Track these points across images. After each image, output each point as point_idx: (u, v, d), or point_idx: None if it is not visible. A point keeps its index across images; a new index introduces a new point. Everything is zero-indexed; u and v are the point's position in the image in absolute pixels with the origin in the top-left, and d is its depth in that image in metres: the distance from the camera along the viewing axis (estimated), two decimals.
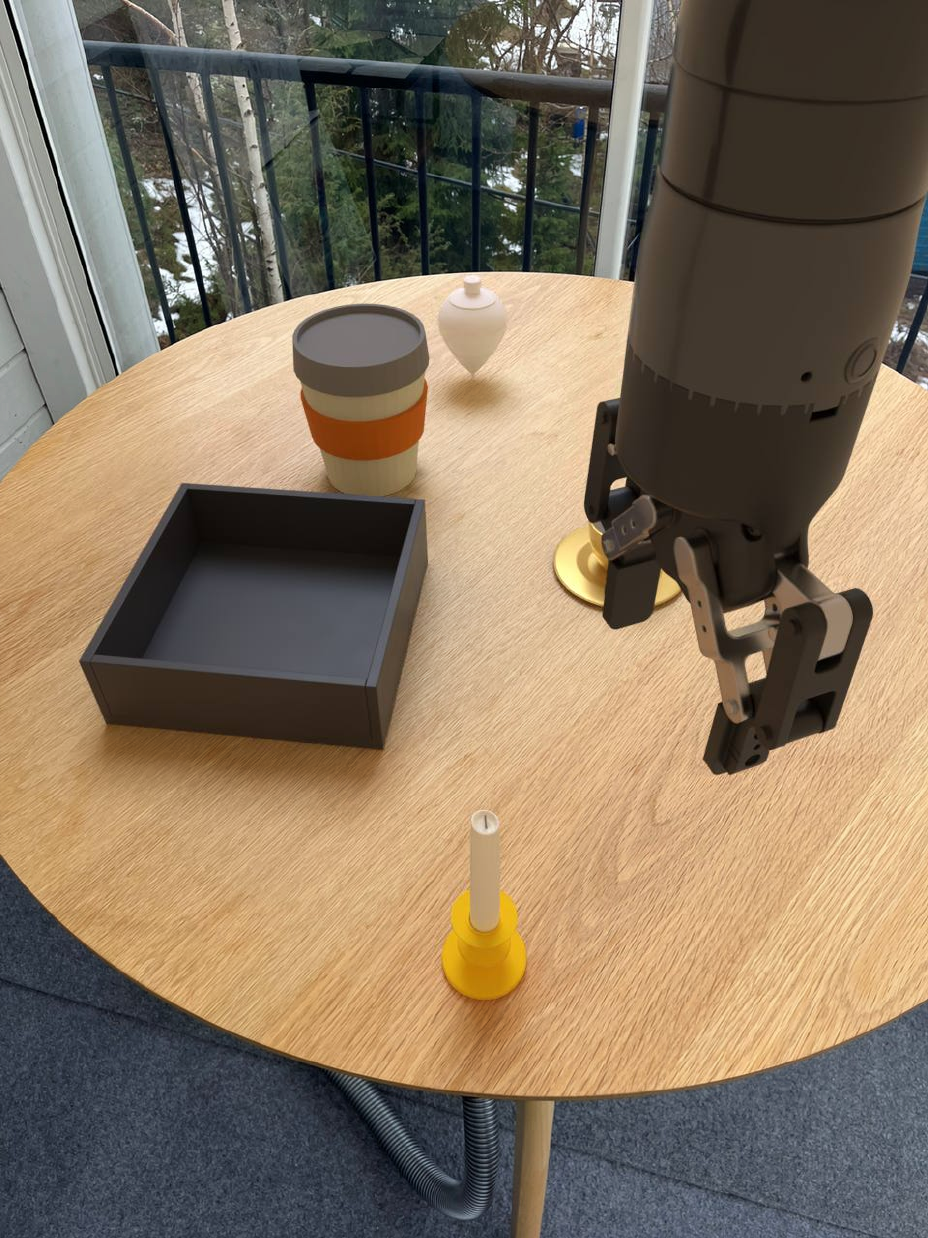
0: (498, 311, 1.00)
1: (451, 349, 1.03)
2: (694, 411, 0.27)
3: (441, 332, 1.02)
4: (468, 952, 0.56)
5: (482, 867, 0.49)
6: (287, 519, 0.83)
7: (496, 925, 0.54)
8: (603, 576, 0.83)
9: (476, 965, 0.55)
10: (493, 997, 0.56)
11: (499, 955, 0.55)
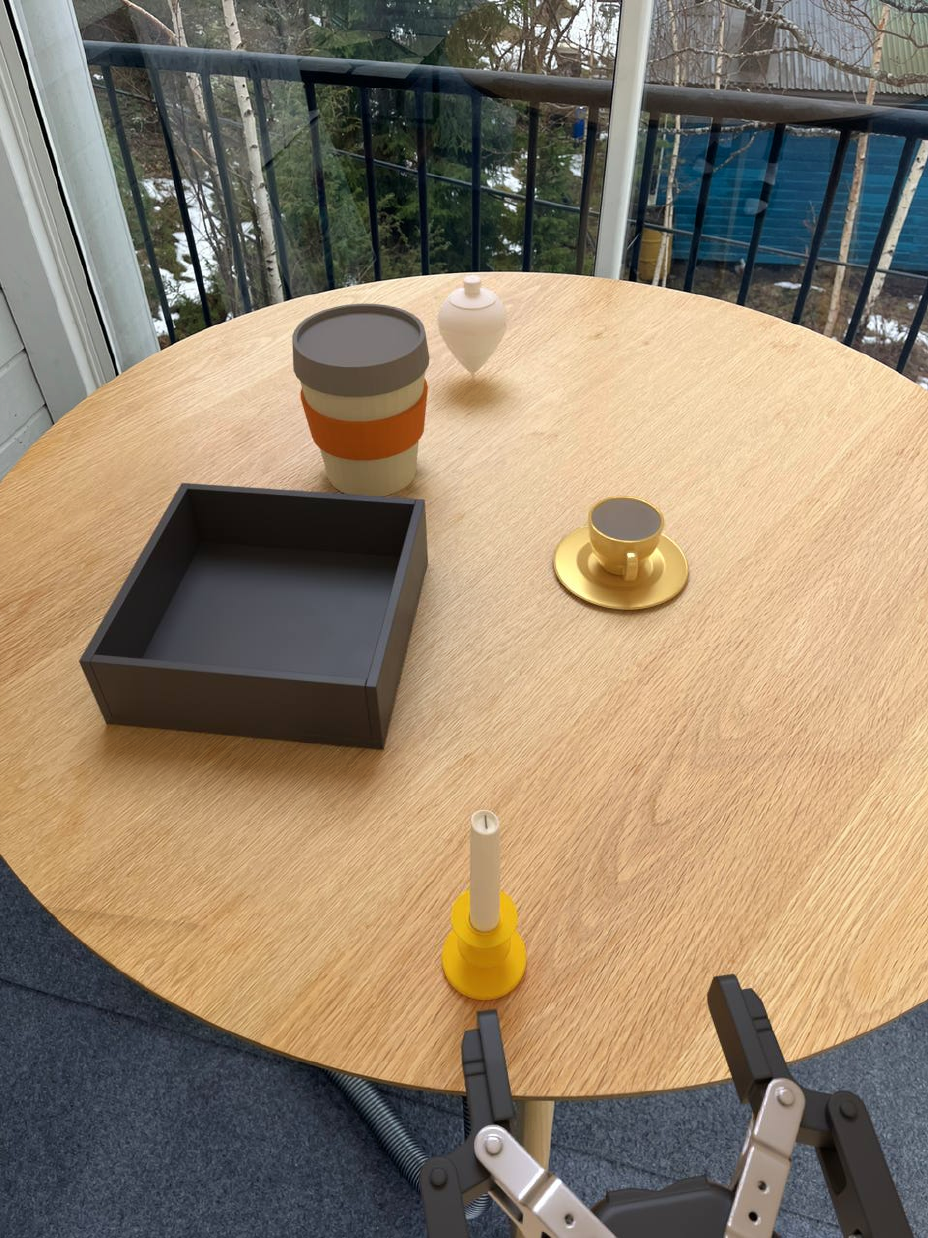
0: (498, 311, 1.00)
1: (451, 349, 1.03)
2: None
3: (441, 332, 1.02)
4: (468, 952, 0.56)
5: (482, 867, 0.49)
6: (287, 519, 0.83)
7: (496, 925, 0.54)
8: (603, 576, 0.83)
9: (476, 965, 0.55)
10: (493, 997, 0.56)
11: (499, 955, 0.55)
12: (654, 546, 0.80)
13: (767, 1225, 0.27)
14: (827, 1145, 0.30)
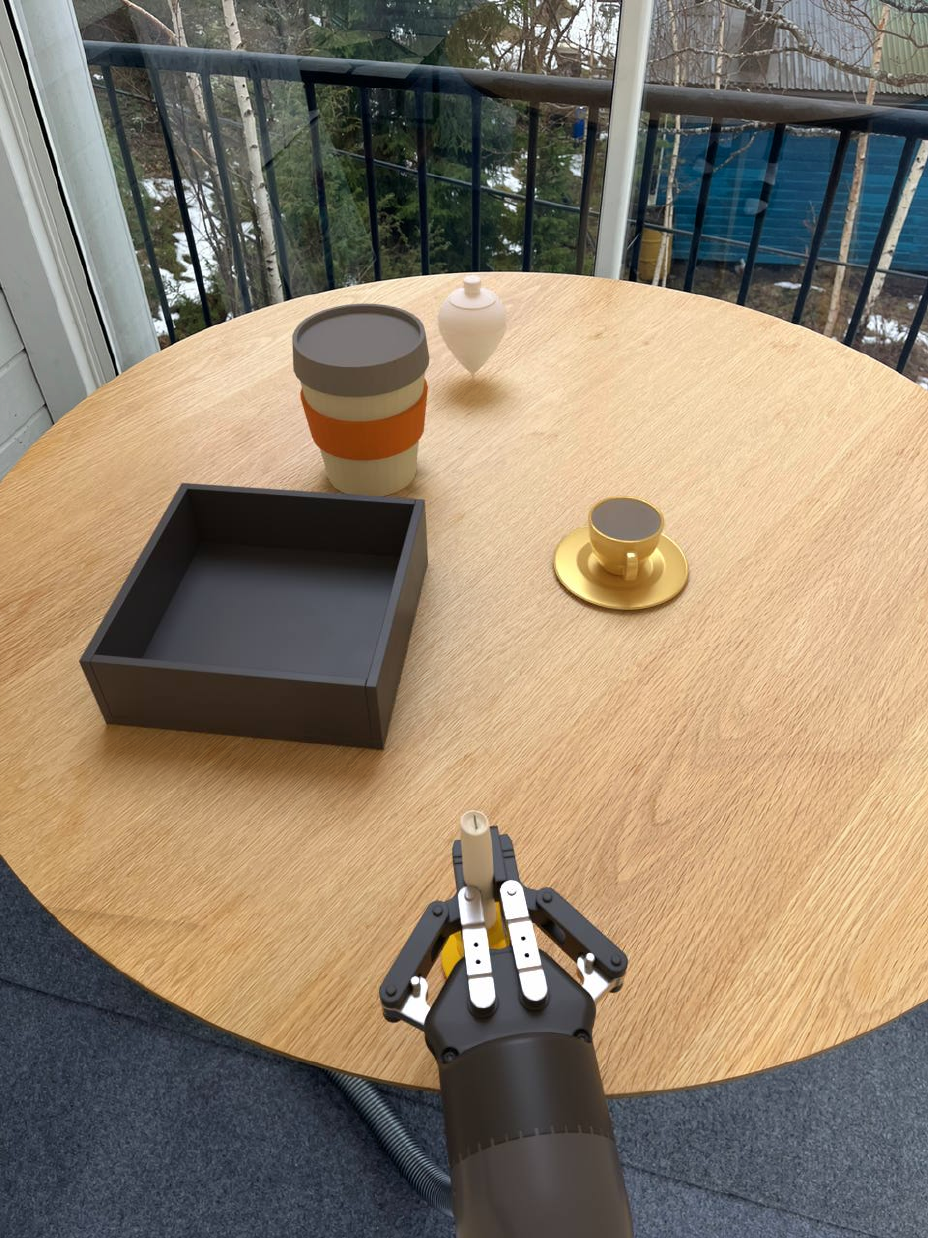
0: (498, 311, 1.00)
1: (451, 349, 1.03)
2: (486, 1132, 0.40)
3: (441, 332, 1.02)
4: None
5: (474, 868, 0.49)
6: (287, 519, 0.83)
7: (493, 925, 0.54)
8: (603, 576, 0.83)
9: None
10: None
11: None
12: (654, 546, 0.80)
13: (535, 954, 0.47)
14: (546, 923, 0.50)
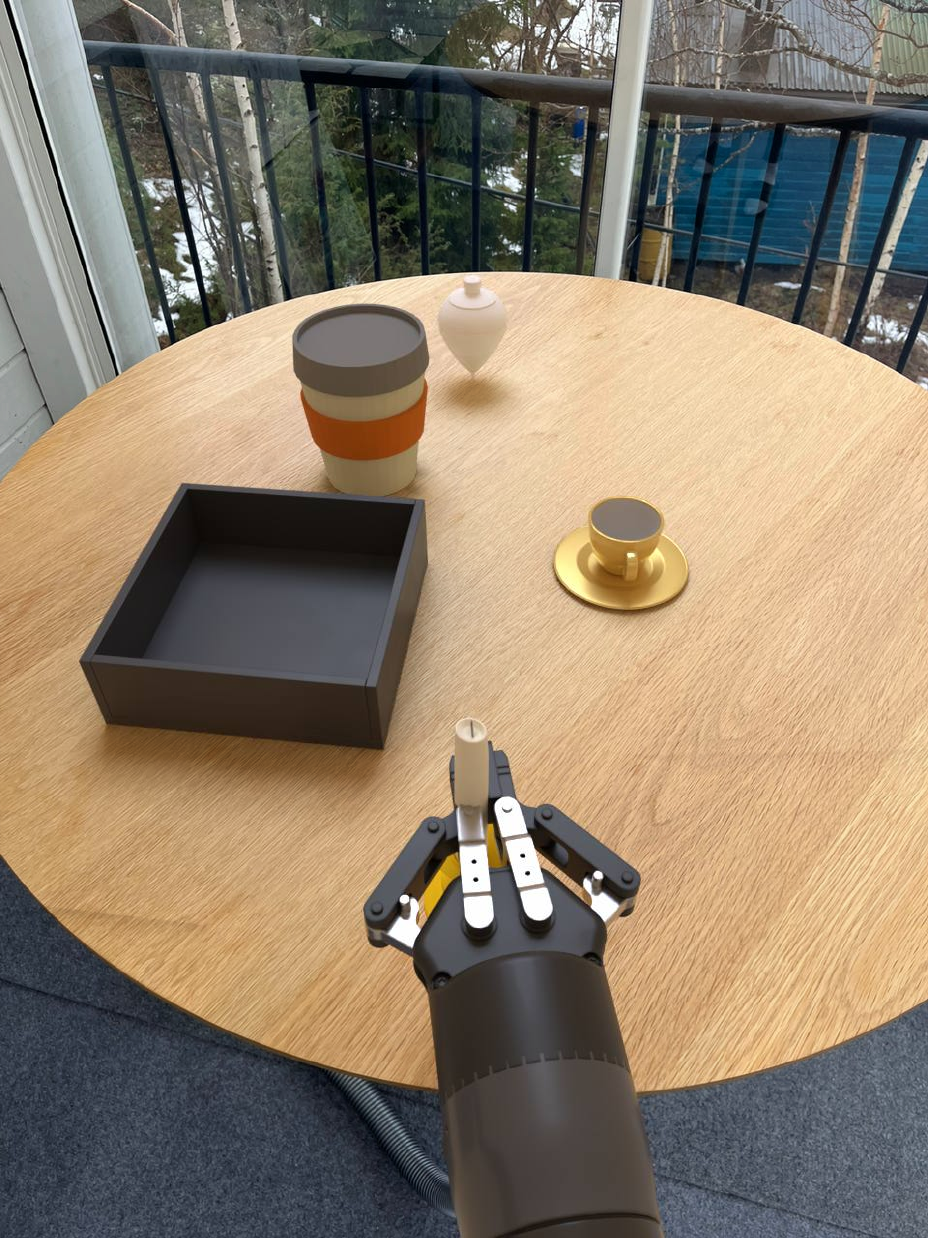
0: (498, 311, 1.00)
1: (451, 349, 1.03)
2: (484, 1059, 0.34)
3: (441, 332, 1.02)
4: None
5: (475, 784, 0.43)
6: (287, 519, 0.83)
7: (487, 853, 0.48)
8: (603, 576, 0.83)
9: None
10: None
11: None
12: (654, 546, 0.80)
13: (537, 872, 0.41)
14: (546, 845, 0.45)
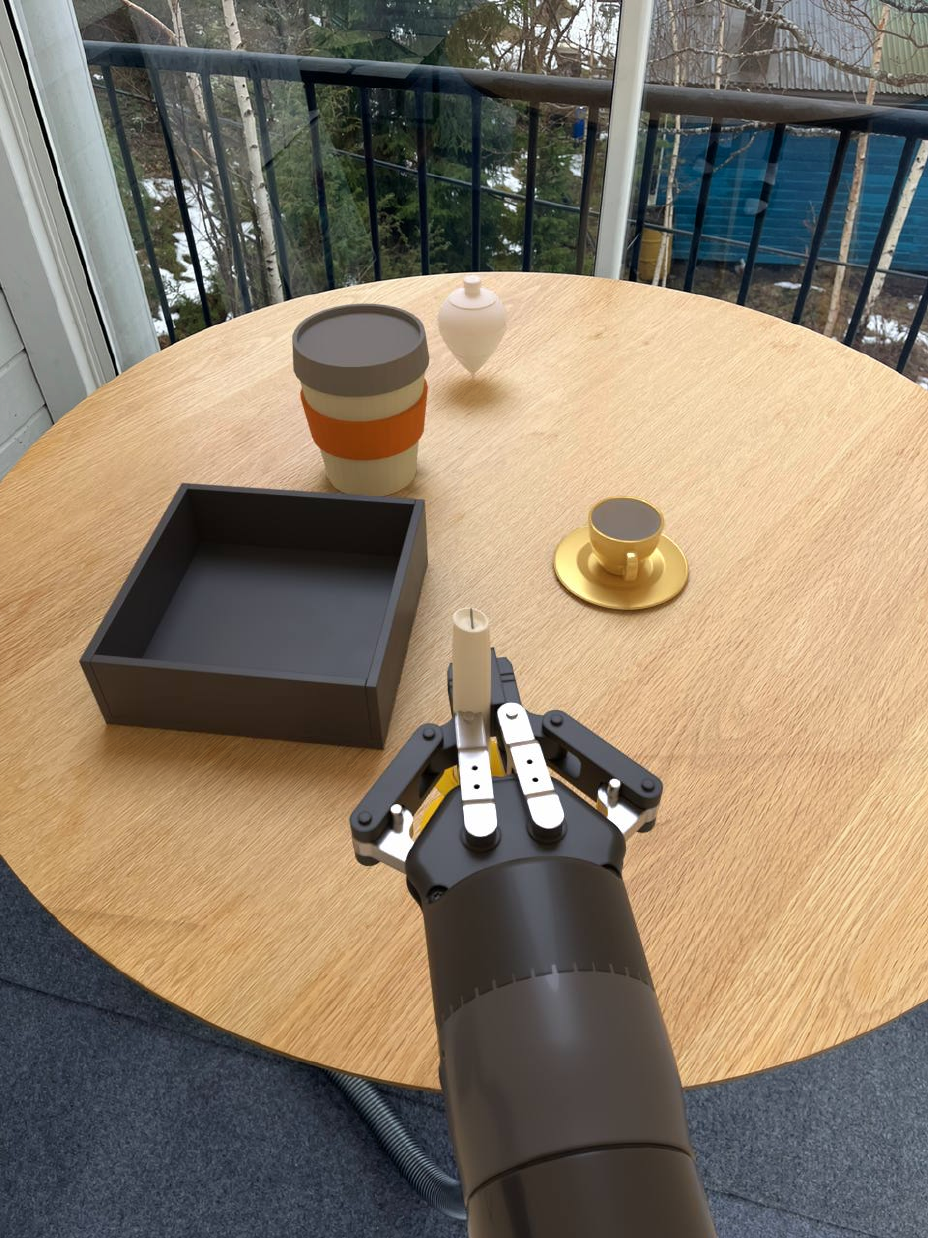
0: (498, 311, 1.00)
1: (451, 349, 1.03)
2: (486, 972, 0.30)
3: (441, 332, 1.02)
4: None
5: (476, 685, 0.39)
6: (287, 519, 0.83)
7: None
8: (603, 576, 0.83)
9: None
10: None
11: None
12: (654, 546, 0.80)
13: (546, 778, 0.37)
14: (556, 756, 0.40)
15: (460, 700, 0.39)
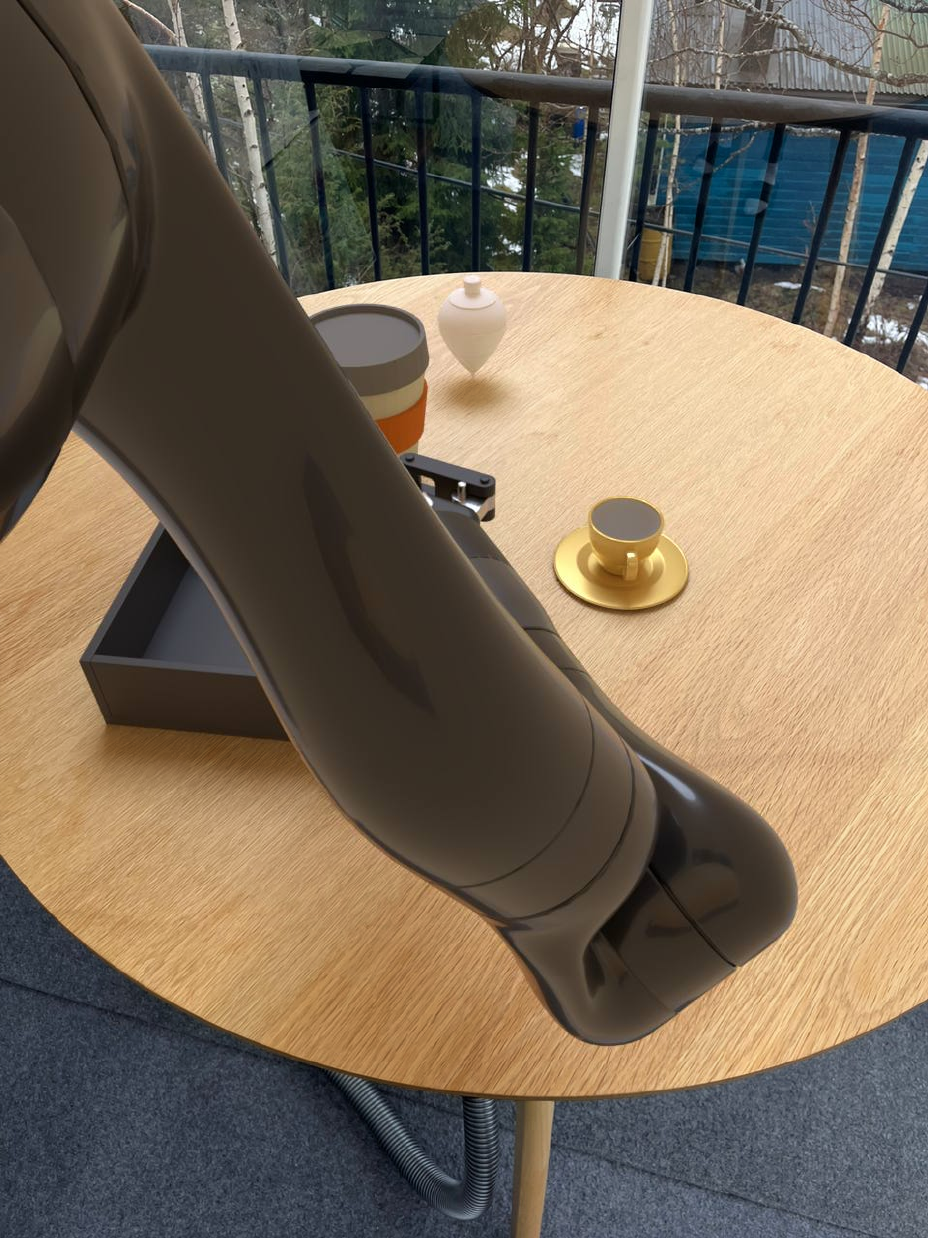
0: (498, 311, 1.00)
1: (451, 349, 1.03)
2: None
3: (441, 332, 1.02)
4: None
5: None
6: None
7: None
8: (603, 576, 0.83)
9: None
10: None
11: None
12: (654, 546, 0.80)
13: None
14: None
15: None
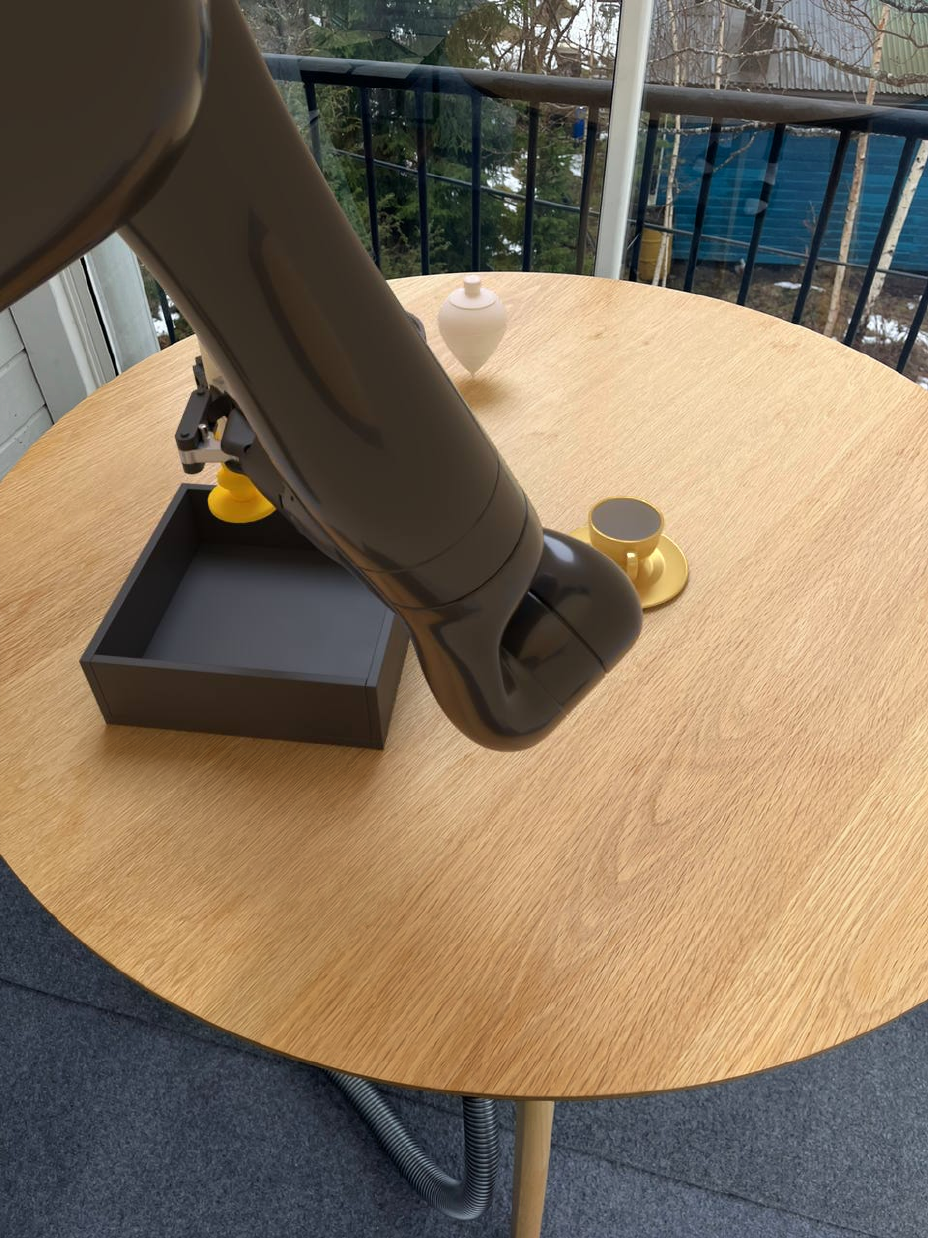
0: (498, 311, 1.00)
1: (451, 349, 1.03)
2: None
3: (441, 332, 1.02)
4: (237, 481, 0.65)
5: None
6: (287, 519, 0.83)
7: None
8: None
9: (250, 484, 0.65)
10: None
11: None
12: (654, 546, 0.80)
13: None
14: None
15: (212, 369, 0.60)
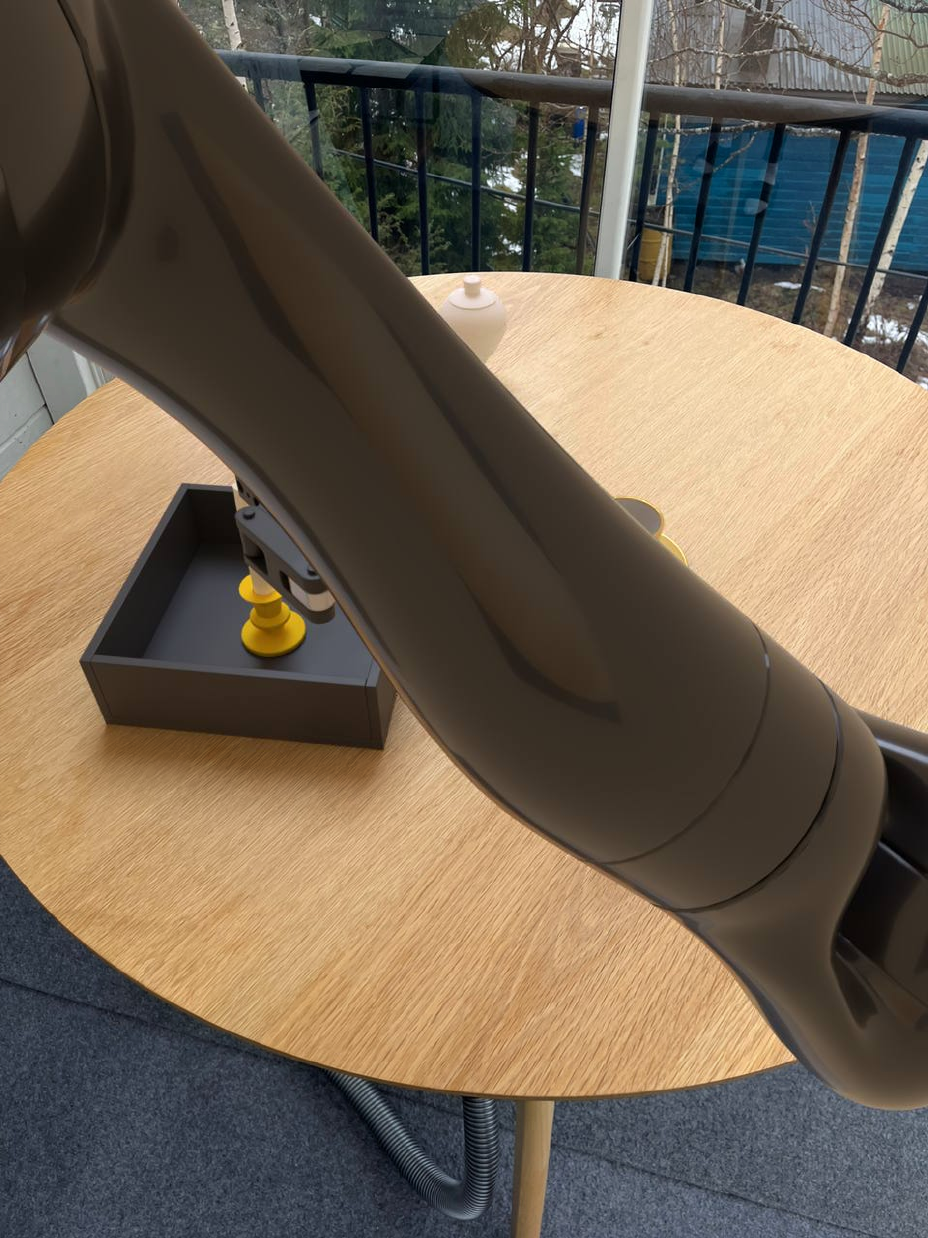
0: (498, 311, 1.00)
1: None
2: None
3: None
4: (268, 622, 0.74)
5: None
6: None
7: None
8: None
9: (279, 624, 0.74)
10: (301, 640, 0.76)
11: (286, 610, 0.75)
12: None
13: None
14: None
15: None
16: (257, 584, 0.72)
